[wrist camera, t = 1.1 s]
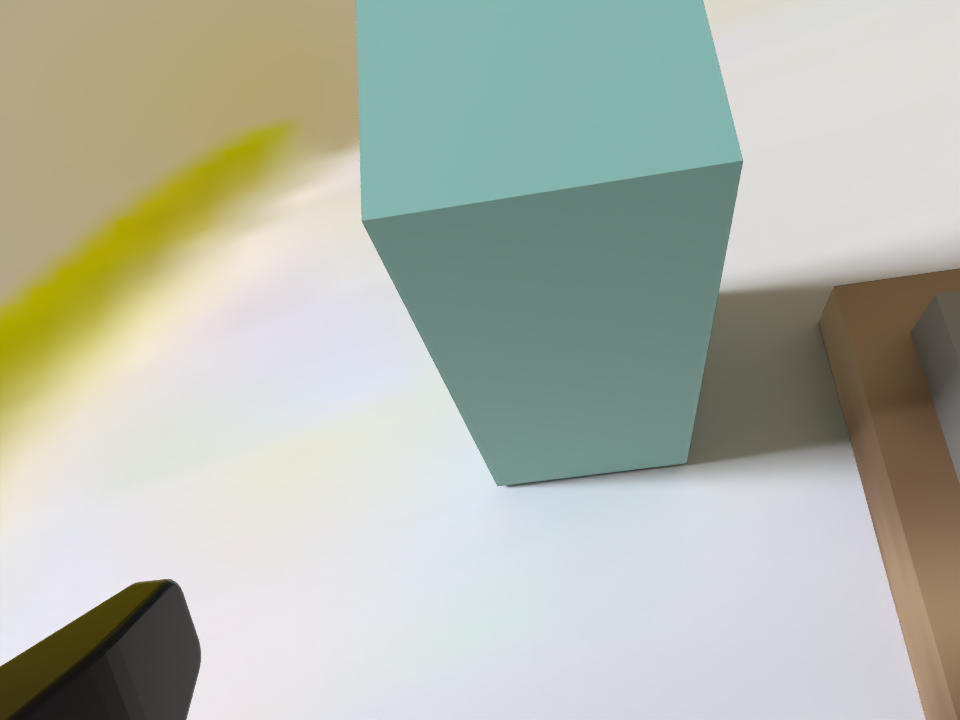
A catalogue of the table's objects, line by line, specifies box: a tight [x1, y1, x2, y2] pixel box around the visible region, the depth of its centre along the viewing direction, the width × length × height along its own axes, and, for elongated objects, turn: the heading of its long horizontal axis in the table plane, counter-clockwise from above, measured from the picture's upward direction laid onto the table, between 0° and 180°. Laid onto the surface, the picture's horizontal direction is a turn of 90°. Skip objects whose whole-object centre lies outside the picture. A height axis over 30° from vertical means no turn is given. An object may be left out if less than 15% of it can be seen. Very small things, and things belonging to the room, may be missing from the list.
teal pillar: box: [356, 0, 743, 486], centre depth 18 cm, size 5×5×13 cm
